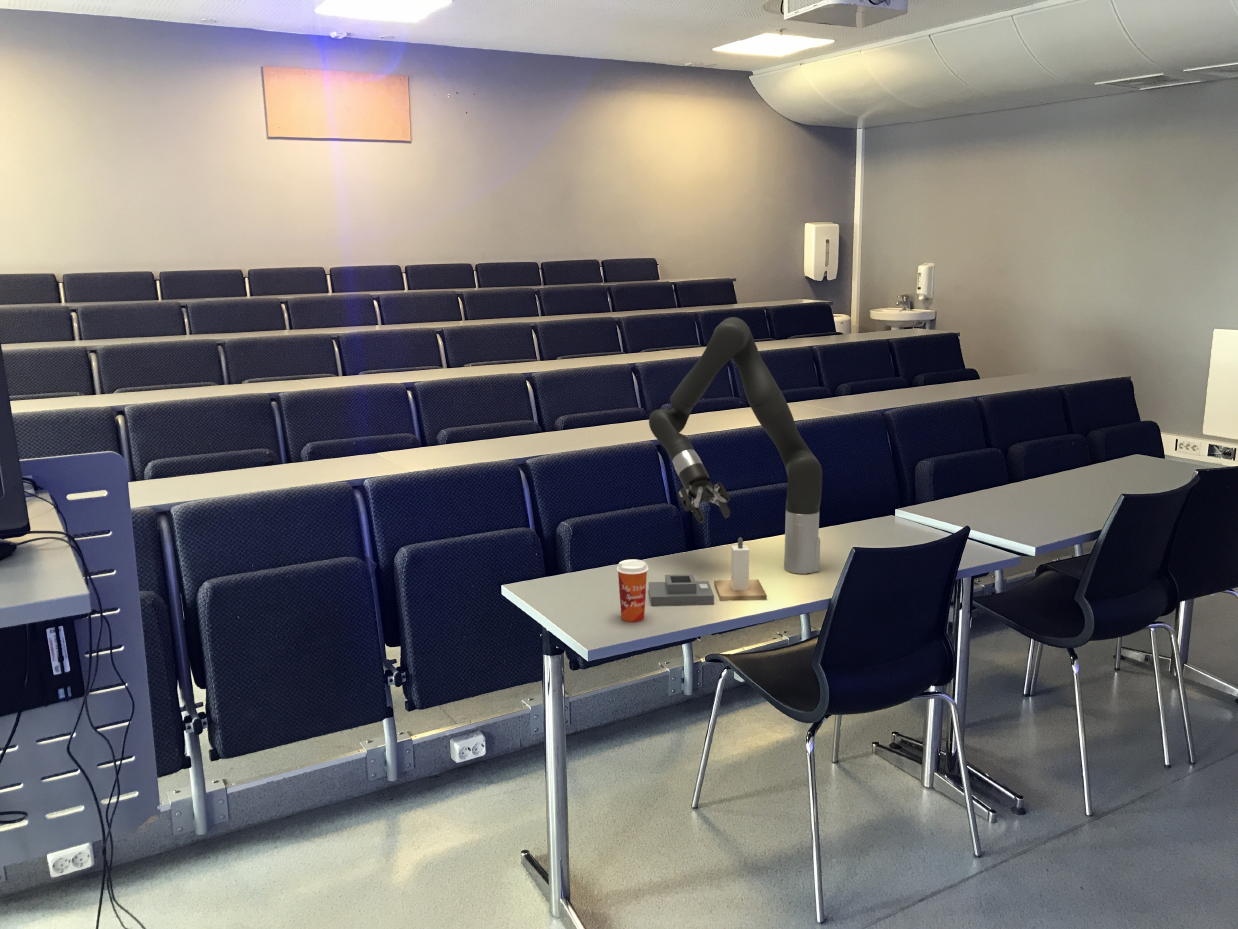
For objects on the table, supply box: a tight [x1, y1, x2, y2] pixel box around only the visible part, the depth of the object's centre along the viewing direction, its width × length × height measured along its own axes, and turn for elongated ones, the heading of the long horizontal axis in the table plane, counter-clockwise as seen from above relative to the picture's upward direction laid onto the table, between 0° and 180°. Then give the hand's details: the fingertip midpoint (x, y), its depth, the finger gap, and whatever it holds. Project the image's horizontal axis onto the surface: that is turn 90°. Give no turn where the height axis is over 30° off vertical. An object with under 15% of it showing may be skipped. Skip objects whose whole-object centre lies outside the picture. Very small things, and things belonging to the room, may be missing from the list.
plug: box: [730, 536, 750, 590], centre depth 244 cm, size 4×4×14 cm
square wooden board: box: [713, 578, 768, 602], centre depth 246 cm, size 12×12×1 cm
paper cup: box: [616, 558, 650, 623], centre depth 228 cm, size 8×8×14 cm
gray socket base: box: [648, 573, 715, 607], centre depth 242 cm, size 16×11×5 cm
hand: (715, 519), depth 251 cm, fingers open, 8 cm apart
